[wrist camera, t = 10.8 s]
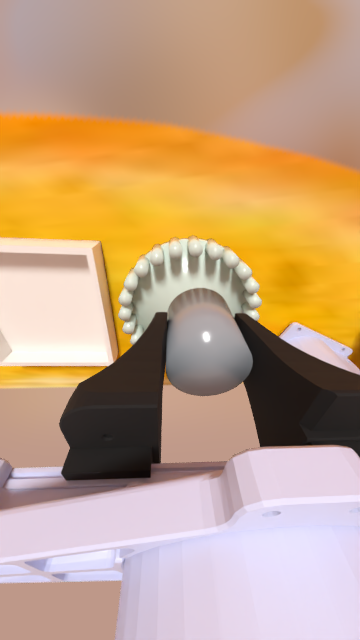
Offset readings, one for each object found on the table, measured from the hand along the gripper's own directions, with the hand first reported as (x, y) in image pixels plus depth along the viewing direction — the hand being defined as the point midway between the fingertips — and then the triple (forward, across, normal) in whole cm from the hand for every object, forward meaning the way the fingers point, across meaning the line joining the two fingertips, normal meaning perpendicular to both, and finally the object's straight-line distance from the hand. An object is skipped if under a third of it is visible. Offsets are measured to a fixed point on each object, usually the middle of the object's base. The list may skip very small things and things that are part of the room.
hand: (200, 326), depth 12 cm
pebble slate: (+1, 0, 0) cm, 1 cm away
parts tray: (+8, +13, +3) cm, 16 cm away
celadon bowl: (+8, 0, +2) cm, 8 cm away
